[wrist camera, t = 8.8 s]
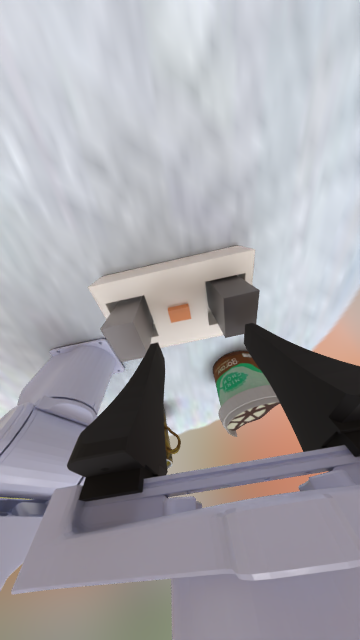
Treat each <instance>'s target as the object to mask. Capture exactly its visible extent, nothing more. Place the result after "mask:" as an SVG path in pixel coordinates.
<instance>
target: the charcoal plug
mask: <svg viewBox="0 0 360 640" xmlns="http://www.w3.org/2000/svg"><path fill="white" fill-rule="evenodd" d="M153 322H154V321H153V318H152V315H151V313H150V310H149V307H148V304H147V302H146V299H145V296H144V295H143V296H138V297H134V298H129V299H125V300H120V301H118V303H117V304H116V306H115V307H114V309H113V311H112V312H111V314H110V315H109V317H108V318H107V320H106V321H105V323H104V324H103V326H102V327H101V329H100V330H101V331H102V333H103V334H104V336H105V337H106V339H107V341H108V342H109V344H110V345H111V347H112V349H113V350H114V352H115V353H116V355H117V356H118V358H119V360H120V361H121V362H124V361H129V360H134V359H139V358H144V356H145V354H146V352H147V350H148V348H149V346H150V344H151V337H152V330H153Z"/></svg>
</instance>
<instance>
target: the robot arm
mask: <svg viewBox="0 0 360 640" xmlns="http://www.w3.org/2000/svg"><path fill="white" fill-rule="evenodd" d="M244 344H245V346H246V348H247V350H248V352H249V354H250V355H251V357H252V358H253V360H254V361H255V363H256V364H257V366H258V367H259V369H260V370H261V371H262V373H263V374H264V376H265V377H266V379H267V380H268V382H269V384H270V385H271V387H272V389H273V391H274V392H275V394H276V396H277V398H278V400H279V402H280V404H281V406H282V407H283V409H284V411H285V413H286V415H287V417H288V419H289V421H290V423H291V425H292V428H293V430H294V432H295V434H296V436H297V438H298V441H299V443H300V445H301V447H302V450H303V452H301V453H295V454H289V455H283V456H277V457H272V458H265V459H260V460H253V461H247V462H241V463H236V464H230V465H224V466H218V467H212V468H206V469H200V470H194V471H188V472H182V473H176V474H171V475H166V474H167V460H166V446H165V430H164V405H163V400H164V382H165V360H164V357H163V354H162V351H161V349H160V346H159V343H158V342H157V343H152V344H150V346H149V348H148V350H147V352H146V354H145V356H144V358H143V359H142V361H141V363H140V365H139V366H138V368H137V370H136V371H135V373H134V374H133V376H132V377H131V379H130V380H129V382H128V383H127V384H126V386H125V387H124V388H123V390H122V391H121V392H120V393H119V394H118V396H117V397H116V398H115V399H114V400H113V402H112V403H111V404H110V405H109V406H108V407H107V408H106V409H105V410H104V411H103V412H102V413H101V414H100V415H99V416H97V413H98V411H99V408H100V405H101V403H102V400H103V397H104V394H105V392H106V389H107V386H108V384H109V381H110V378H111V376H112V374H114V373H119V372H123V371H124V370H125V368H124V366H123V365H122V363H121V362H120V360H119V359H118V357H117V355H116V354H115V352H114V351H113V349H112V348H111V346H110V344H109V343H108V341H107V340H106V339H99V340H94V341H89V342H84V343H80V344H75V345H70V346H65V347H61V348H56V349H52V350H50V351H49V353H50V354H51V355H52V357H51V358H50V359H49V360H48V362H47V363H46V364H45V365H44V366H43V367H42V368H41V369H40V371H39V372H38V373H37V374H36V375H35V376H34V377H33V378H32V379H31V381H30V382H29V383H28V384H27V385H26V386H25V388H24V389H23V390H22V392H21V394H20V396H19V400H18V406H16V407H14V408H13V409H11V410H10V411H9V412H8V413H7V414H5V415H4V416H3V417H2V418H1V419H0V497H8V498H25V499H31V500H22V499H6V498H5V499H4V498H0V591H1V589H2V587H3V585H4V583H5V581H6V579H7V578H8V577H9V576H10V575H11V573H12V572H14V571H15V570H16V569H17V568H18V567H19V566H20V565H21V564H22V563H23V562H24V563H23V565H22V567H21V570H20V572H19V574H18V577H17V579H16V581H15V584H14V586H13V588H12V594H19V593H26V592H34V591H42V590H50V589H59V588H69V587H80V586H91V585H102V584H103V585H104V584H115V583H126V582H138V581H148V580H160V579H171V586H172V587H171V589H172V590H171V592H172V593H171V595H172V640H360V366H356V365H353V364H349V363H346V362H342V361H339V360H336V359H333V358H330V357H326V356H324V355H321V354H318V353H315V352H312V351H310V350H307V349H305V348H302V347H300V346H298V345H295V344H293V343H291V342H289V341H287V340H285V339H282V338H280V337H278V336H277V335H275V334H273V333H271V332H269V331H267V330H265V329H264V328H262V327H260V326H258V325H256V324H254V323H249V324H245V334H244ZM325 471H329V472H327V473H323V474H320V475H316V476H313V477H309V480H308V481H307V482H306V483H304V484H302V485H300V486H299V490H300V491H299V492H292V493H284V494H277V495H270V496H265V497H258V498H252V499H246V500H241V501H236V502H231V503H226V504H220V505H216V506H211V507H206V508H202V504H201V502H197V501H196V499H195V497H175V498H168V497H172V496H178V495H184V494H190V493H196V492H203V491H209V490H215V489H221V488H227V487H233V486H239V485H246V484H252V483H258V482H264V481H270V480H277V479H283V478H289V477H295V476H301V475H307V474H313V473H320V472H325Z"/></svg>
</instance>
